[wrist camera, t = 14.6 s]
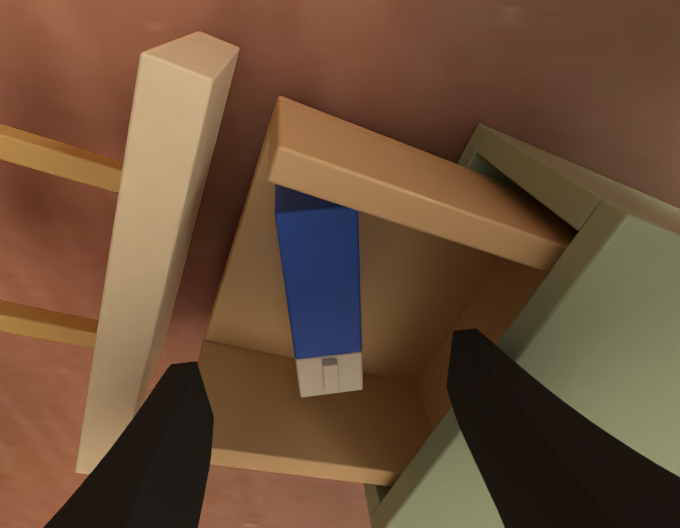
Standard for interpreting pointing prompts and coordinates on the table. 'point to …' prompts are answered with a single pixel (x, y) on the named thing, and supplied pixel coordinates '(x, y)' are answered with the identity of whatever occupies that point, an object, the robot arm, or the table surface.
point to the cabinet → (569, 333)
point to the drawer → (267, 276)
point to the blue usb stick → (321, 290)
